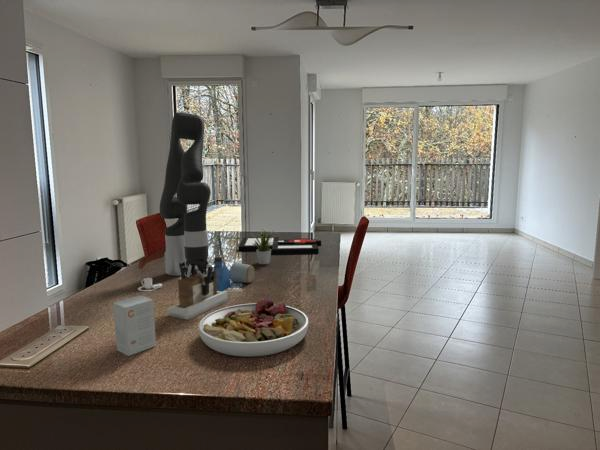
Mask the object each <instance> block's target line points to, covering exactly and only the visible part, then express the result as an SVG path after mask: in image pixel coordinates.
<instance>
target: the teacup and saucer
mask: <svg viewBox="0 0 600 450" xmlns="http://www.w3.org/2000/svg"><path fill="white" fill-rule="evenodd" d="M140 282H141V285H142V286H139V287H138V288H137V290H138V291H140V292H148V291H149V292H152V291H155V290H158V289H160V288H162V287H163V284H162V283H156V284H153V277H146V278H143V279H142V280H141V281H140ZM142 288H145V289H142Z"/></svg>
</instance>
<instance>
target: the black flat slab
mask: <svg viewBox="0 0 600 450" xmlns="http://www.w3.org/2000/svg"><path fill="white" fill-rule="evenodd" d="M256 237H257V238H258V240H259V242H260V243H261V236H260V237H259V236H256ZM272 237H273V236H271V237H269V238H270V239H271V238H272ZM266 238H267V237H266ZM254 240H255V241H256V242H257V243H258V244H259V242H258V241H257V239H256V238H255V237H254V236H253V237H251V236H250V237H249V236H248V237H243V238H242V240H241V241H240V243H239V245H238V252H256V250H257V249H258V247H259V246H258V247H257V246H255V245H253V244H255V241H254ZM276 241H277V242H276ZM268 242H269V243H270V242H274V243H270V244H272V245H270V246H269V245H268V247H267V249H271V255H315V254H317V255H318V254H319V246H320V247H321V246H322V240H321V239H315V238H313V239H311V238H310V237H309V238H305V237H304V238H302V237H301V238H294V239H280V237H279V236H274V237H273V238H272V239H271V240H269V241H268ZM269 243H268V244H269ZM256 245H257V244H256ZM259 245H260V244H259Z"/></svg>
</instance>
